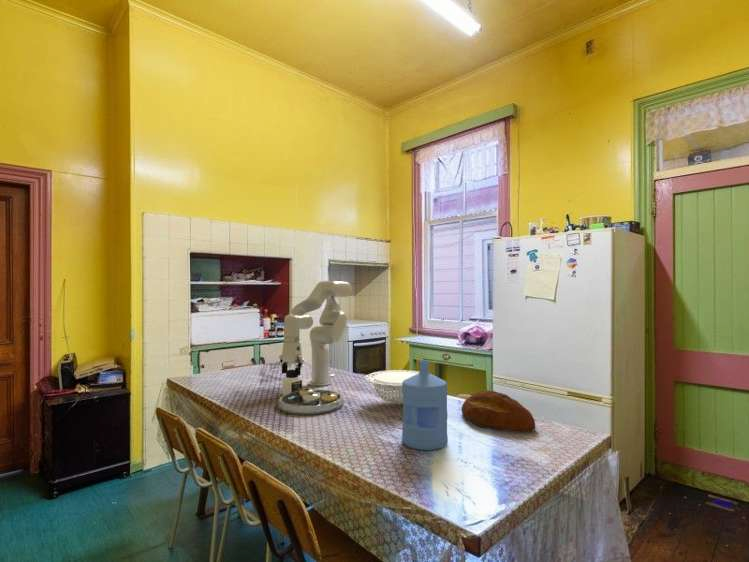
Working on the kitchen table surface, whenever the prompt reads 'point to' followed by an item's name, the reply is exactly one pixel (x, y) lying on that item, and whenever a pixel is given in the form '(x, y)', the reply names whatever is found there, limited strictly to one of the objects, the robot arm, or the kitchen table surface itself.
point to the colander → (390, 383)
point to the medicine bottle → (291, 383)
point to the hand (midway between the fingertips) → (291, 374)
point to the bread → (497, 412)
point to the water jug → (424, 410)
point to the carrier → (310, 402)
